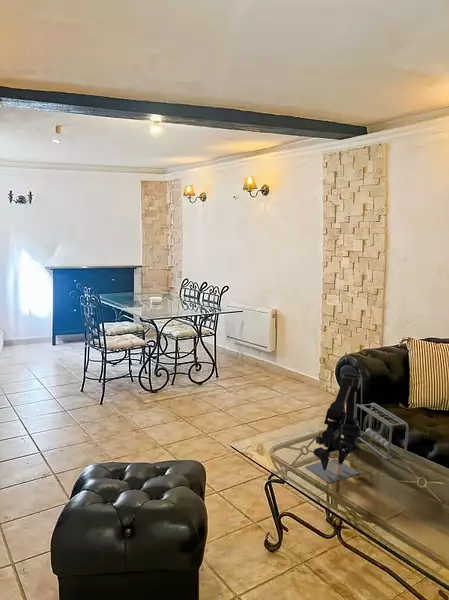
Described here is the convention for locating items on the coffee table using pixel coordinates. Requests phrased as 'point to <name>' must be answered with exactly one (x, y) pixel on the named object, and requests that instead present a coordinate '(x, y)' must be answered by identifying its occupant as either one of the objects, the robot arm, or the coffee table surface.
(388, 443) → the newton's cradle
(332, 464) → the tile
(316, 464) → the mat
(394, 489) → the coffee table surface
